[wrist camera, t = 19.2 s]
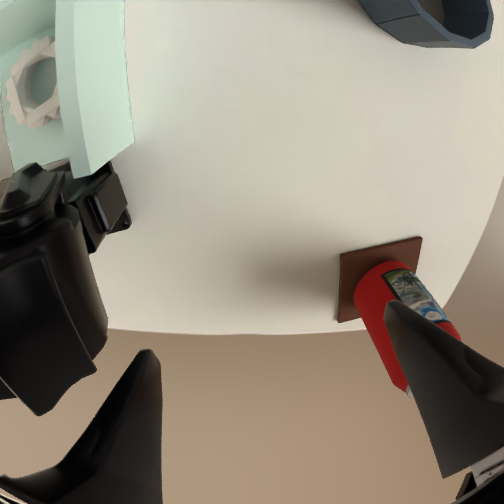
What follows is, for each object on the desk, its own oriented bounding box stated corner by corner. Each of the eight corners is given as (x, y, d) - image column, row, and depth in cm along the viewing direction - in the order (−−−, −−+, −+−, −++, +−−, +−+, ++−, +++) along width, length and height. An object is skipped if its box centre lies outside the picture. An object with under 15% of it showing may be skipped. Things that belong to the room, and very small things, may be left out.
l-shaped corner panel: (-1, 48, 10) (-62, 54, 4) (123, -10, 11) (79, -46, 4) (14, 174, 17) (-40, 215, 10) (135, 141, 17) (91, 174, 11)
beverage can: (416, 273, 26) (476, 357, 16) (373, 315, 29) (417, 404, 19) (386, 243, 24) (460, 340, 14) (337, 292, 26) (385, 399, 16)
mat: (337, 320, 29) (338, 323, 29) (340, 254, 24) (341, 256, 24) (406, 301, 29) (408, 303, 29) (420, 236, 24) (422, 238, 24)
